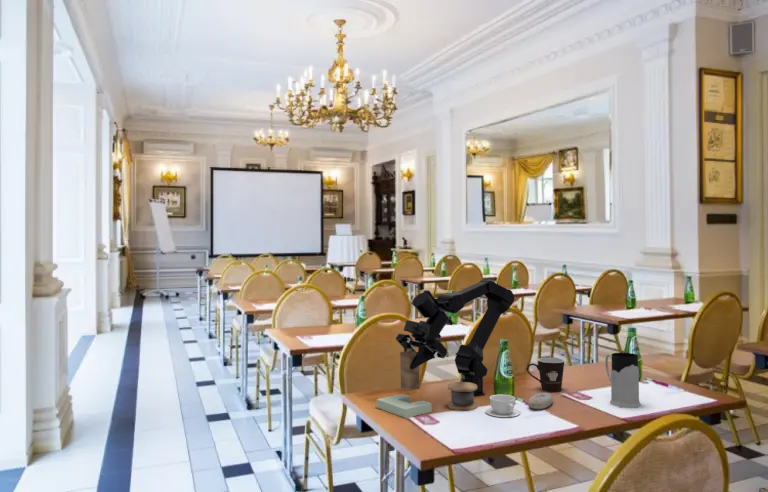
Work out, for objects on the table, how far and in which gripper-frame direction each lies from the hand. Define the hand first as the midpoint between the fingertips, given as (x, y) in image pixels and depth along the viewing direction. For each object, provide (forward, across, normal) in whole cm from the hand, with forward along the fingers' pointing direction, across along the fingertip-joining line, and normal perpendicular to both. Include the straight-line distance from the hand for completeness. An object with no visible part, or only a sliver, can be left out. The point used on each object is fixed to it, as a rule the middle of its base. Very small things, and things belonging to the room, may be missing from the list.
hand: (406, 367), depth 177 cm
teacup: (-4, +21, +22) cm, 31 cm away
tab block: (+4, 0, +6) cm, 7 cm away
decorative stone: (-15, +23, +34) cm, 43 cm away
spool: (-1, +9, +19) cm, 21 cm away
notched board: (+10, 0, +8) cm, 13 cm away
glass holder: (-30, +36, +49) cm, 68 cm away
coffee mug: (-27, +13, +45) cm, 54 cm away
